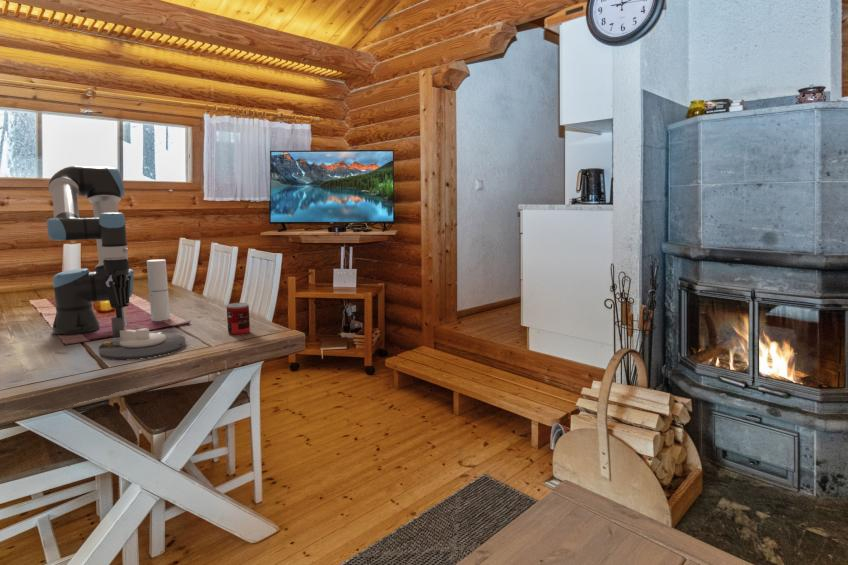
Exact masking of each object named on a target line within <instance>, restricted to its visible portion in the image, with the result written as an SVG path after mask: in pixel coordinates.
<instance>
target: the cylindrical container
mask: <svg viewBox="0 0 848 565" xmlns="http://www.w3.org/2000/svg"><path fill="white" fill-rule="evenodd" d="M146 267H147V280H148V281H147V282H148V292H149V293H148V294H149V306H150V316H151V317H150V318H151V321H152V322H163V321H162V320H165V321H168V320H167V319H169V320H171V312H170V310H171V309H170V299H169V296H170V295H169V282H168V272H167V271H168V270H167V260H166V259H164V258H161V259H149V260H146Z"/></svg>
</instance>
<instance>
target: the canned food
mask: <svg viewBox="0 0 848 565" xmlns="http://www.w3.org/2000/svg"><path fill="white" fill-rule="evenodd" d="M226 319H227V320H226V321H227V333H228V334H229V336H243V335H242V334H245V335H248V334H250V332H251V328H250V325H251V324H250V306H249V303H247V302H234V303H233V302H232V303H228V304H227V305H226ZM247 333H248V334H247Z"/></svg>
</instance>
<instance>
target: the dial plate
mask: <svg viewBox="0 0 848 565" xmlns="http://www.w3.org/2000/svg"><path fill="white" fill-rule="evenodd" d="M158 333H159V334H164V335H166V341H165V342H163V343H160V344H157V345H153V346H147V347H137V348H128V347H122V346H120V342H119V341H120V340H121V339H122V338H121V337H120V338H114V339H111V340H107V341H104V342H103V343H102V344H101V345H99V346H98V353H99V356H100V357H101V358H103V359H106V358H107V359H108V360H113V359H115V361H128V360H127V359H135V360H141V359H140V358H145V359H149V358H148V357H152V358H155V357H154V356H157V357H160V356H159V355H162V356H165V355H164V354H166V355H169V354H168V353H170V354H173V353H176V352H178V351H180V350H182V349H184V348H185V347H186V344H187V343H186V337H185V336H184V335H182V334H178V333H171V332H161V331H159V332H158ZM175 351H176V352H175ZM172 352H173V353H172Z"/></svg>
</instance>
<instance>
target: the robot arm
mask: <svg viewBox="0 0 848 565" xmlns="http://www.w3.org/2000/svg"><path fill="white" fill-rule="evenodd" d="M48 191H49V194H50V196H52V208H53V217H51V218H48V219H47V220H46V226H47V227H46V228H47V235H48V238H49V240H51V241H61V242H64V241H80V240H81V241H83V240H95V241H96V249H97V250H96V251H97V258H98V259H97V260H98V263H97V264H96V265H95V266H94V271H90V270H89V268H85V267H84V268H76V269H70V270H65V271H62V272H58V273H56V274H54V276H53V277H52V281H53V282H52V288H53V290H54V291H53V293H54V301H55V310H56V311H55V312H56V313H55V317H54V321H53V325H52V334H54V335H59V334H63V336H64V335H66V336H67V335H69V334H70V335H78V334H79V333H80V334H85V333H90V332H94V331H96V330H99V329H100V322H99V320H98V317H97V315H96V313H95V311H94V309H93V303H96V302H104V301H108V302H109V304H110V307H111V308H112V309H115V317H123V320H124V327H126V326H128V321H127V309H126V308H127V307H129V305H130V304H129V303H130V298H132V295H133V292H134V291H133V290H134V279H135V278H134V275H135V274H134V269H131V268H130V260H129V258H128V256H129V253H128V251H129V248H128V242H127V230H126V229H127V228H126V219H125V214H124V213H123V212H119V208H118V207H119V206H118V204H119V203H120V202H121V201H122V197H125V187H124V182H123V178H122V175H121V172H120V171H119V169H118V168H116V167H111V166H85V165H84V166H81V165H70V166H68V167H64V168H62V169H60V170H58V171H57V172H55V173H54V175H53V176H51V177H50V179H49V181H48ZM78 197H86V199H87V201H88V202H89V203H90V204H91V205H92V211H93V217H80V210H79V204H78V203H79V201H78ZM70 335H69V336H70Z"/></svg>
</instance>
